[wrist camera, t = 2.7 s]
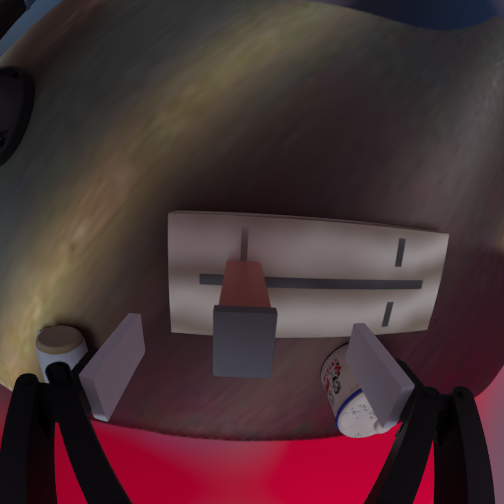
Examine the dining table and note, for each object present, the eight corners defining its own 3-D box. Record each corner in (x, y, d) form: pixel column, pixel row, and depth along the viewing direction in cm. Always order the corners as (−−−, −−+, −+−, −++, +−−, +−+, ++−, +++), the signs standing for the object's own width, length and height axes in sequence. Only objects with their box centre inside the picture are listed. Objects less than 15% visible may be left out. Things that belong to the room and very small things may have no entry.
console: (175, 210, 27) (167, 213, 24) (434, 229, 28) (449, 234, 25) (177, 318, 30) (171, 332, 27) (415, 319, 31) (427, 329, 28)
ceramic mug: (92, 326, 30) (62, 357, 22) (105, 376, 32) (82, 410, 24) (36, 314, 29) (5, 338, 22) (50, 361, 31) (25, 388, 24)
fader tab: (224, 258, 25) (212, 311, 14) (262, 260, 25) (277, 313, 14) (223, 303, 26) (213, 375, 15) (259, 305, 26) (270, 377, 15)
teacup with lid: (316, 347, 31) (346, 414, 20) (383, 330, 31) (431, 384, 20) (319, 411, 34) (339, 473, 23) (376, 395, 34) (407, 449, 23)
